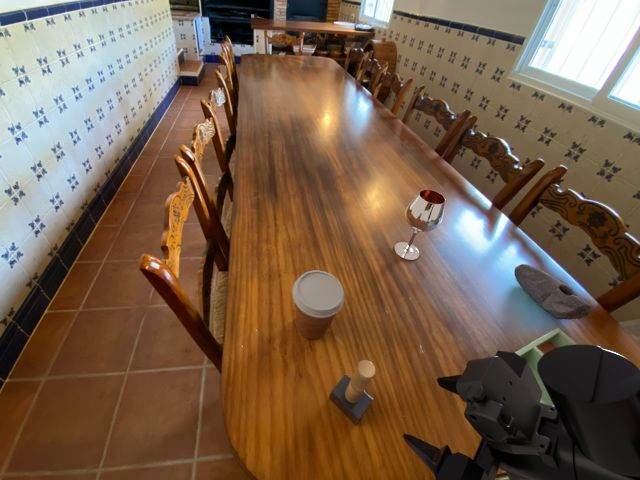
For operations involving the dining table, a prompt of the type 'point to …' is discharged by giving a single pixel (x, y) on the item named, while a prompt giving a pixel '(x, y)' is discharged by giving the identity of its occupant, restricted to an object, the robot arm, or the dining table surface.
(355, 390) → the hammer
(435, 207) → the wineglass
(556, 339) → the divided tray
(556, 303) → the perforated stone tool
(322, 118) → the dining table surface
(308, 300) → the disposable coffee cup
